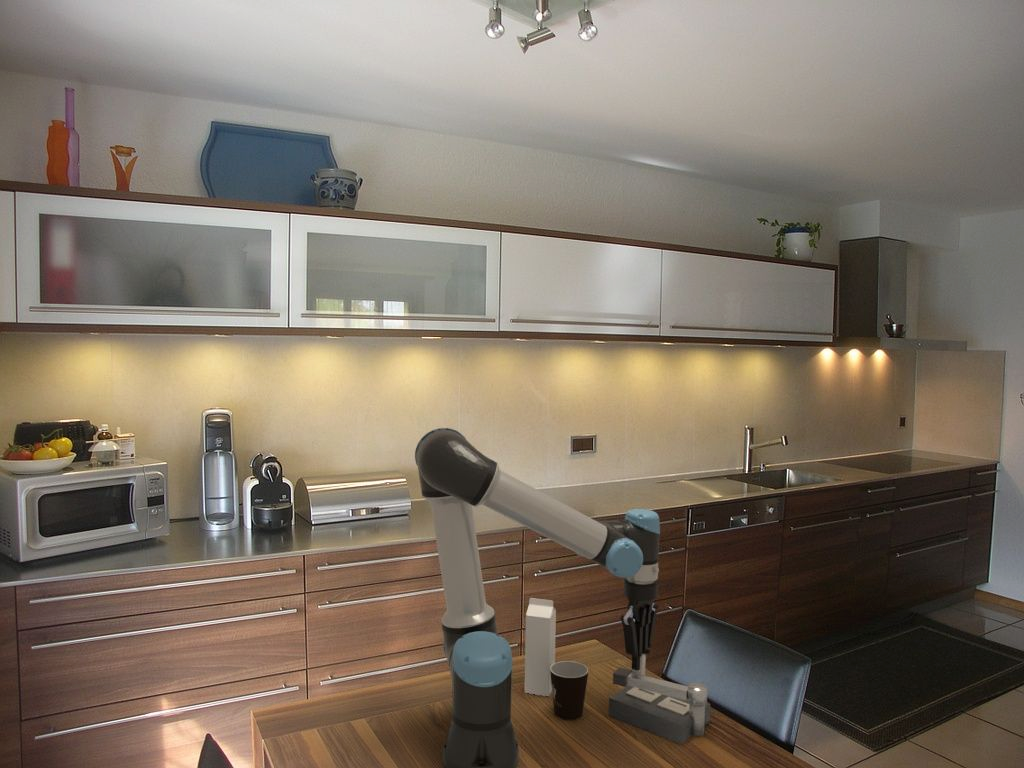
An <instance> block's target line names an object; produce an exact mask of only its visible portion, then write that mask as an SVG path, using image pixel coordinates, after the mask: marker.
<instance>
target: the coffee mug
mask: <svg viewBox="0 0 1024 768" xmlns="http://www.w3.org/2000/svg"><path fill="white" fill-rule="evenodd" d="M550 675H551V685H552V691H551V693H552V694H551V695H552V704H553V705H552V706H553V712H554V715H555V716H556V717H557V718H558V719H562V720H565V721H574V720H578V719H580V718H582V716H583V713H584V707H585V700H586V691H587V683H588V677H589V668H588V666H587V665H585V664H583V663H581V662H577V661H574V660H573V661H572V660H562V661H557V662H556V661H555V663H554V664H552V665H551V667H550Z"/></svg>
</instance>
